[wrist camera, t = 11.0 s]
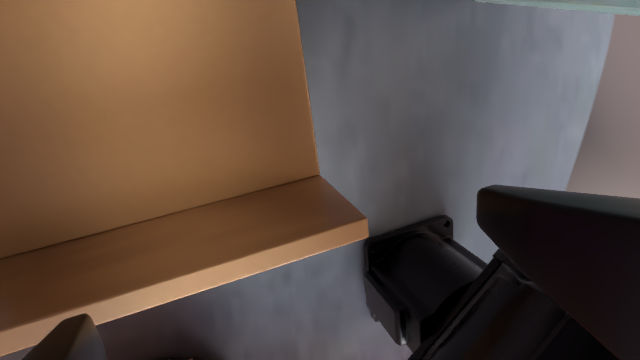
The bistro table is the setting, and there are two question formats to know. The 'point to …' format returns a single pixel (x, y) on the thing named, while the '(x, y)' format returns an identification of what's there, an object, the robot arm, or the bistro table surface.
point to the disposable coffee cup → (580, 5)
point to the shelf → (152, 156)
